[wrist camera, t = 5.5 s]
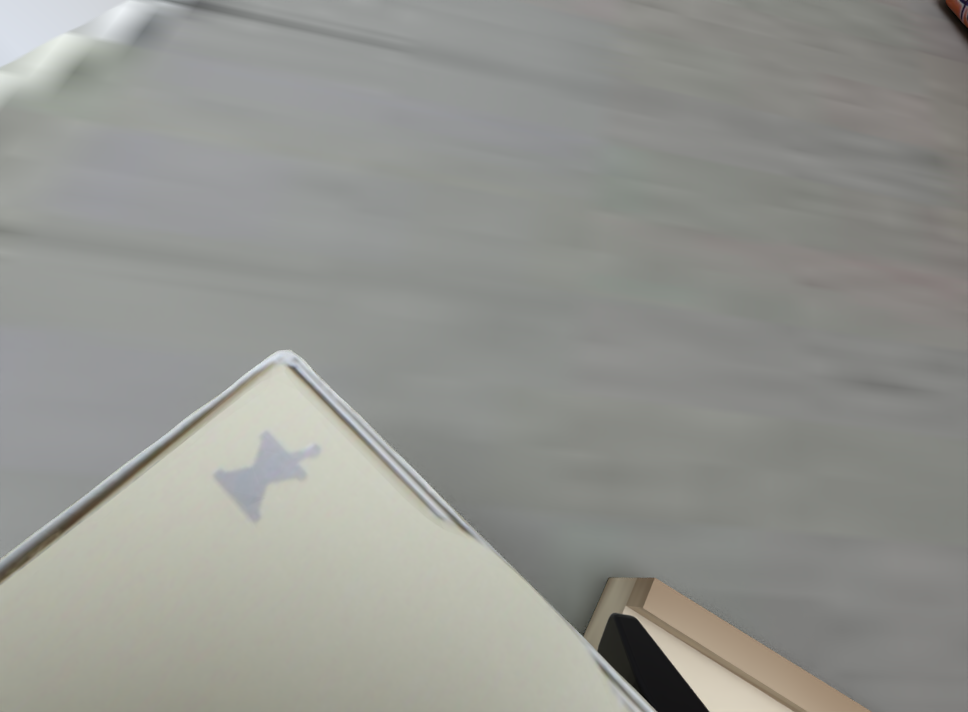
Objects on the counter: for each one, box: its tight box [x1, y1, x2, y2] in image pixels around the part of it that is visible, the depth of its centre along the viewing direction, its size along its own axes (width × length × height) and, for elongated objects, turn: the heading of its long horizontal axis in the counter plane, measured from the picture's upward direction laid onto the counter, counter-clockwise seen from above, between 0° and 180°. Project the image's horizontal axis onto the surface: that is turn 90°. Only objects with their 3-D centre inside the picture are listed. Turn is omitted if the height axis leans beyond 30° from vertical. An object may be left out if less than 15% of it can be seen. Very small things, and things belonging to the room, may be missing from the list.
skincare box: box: [0, 350, 657, 712], centre depth 9 cm, size 6×4×12 cm
